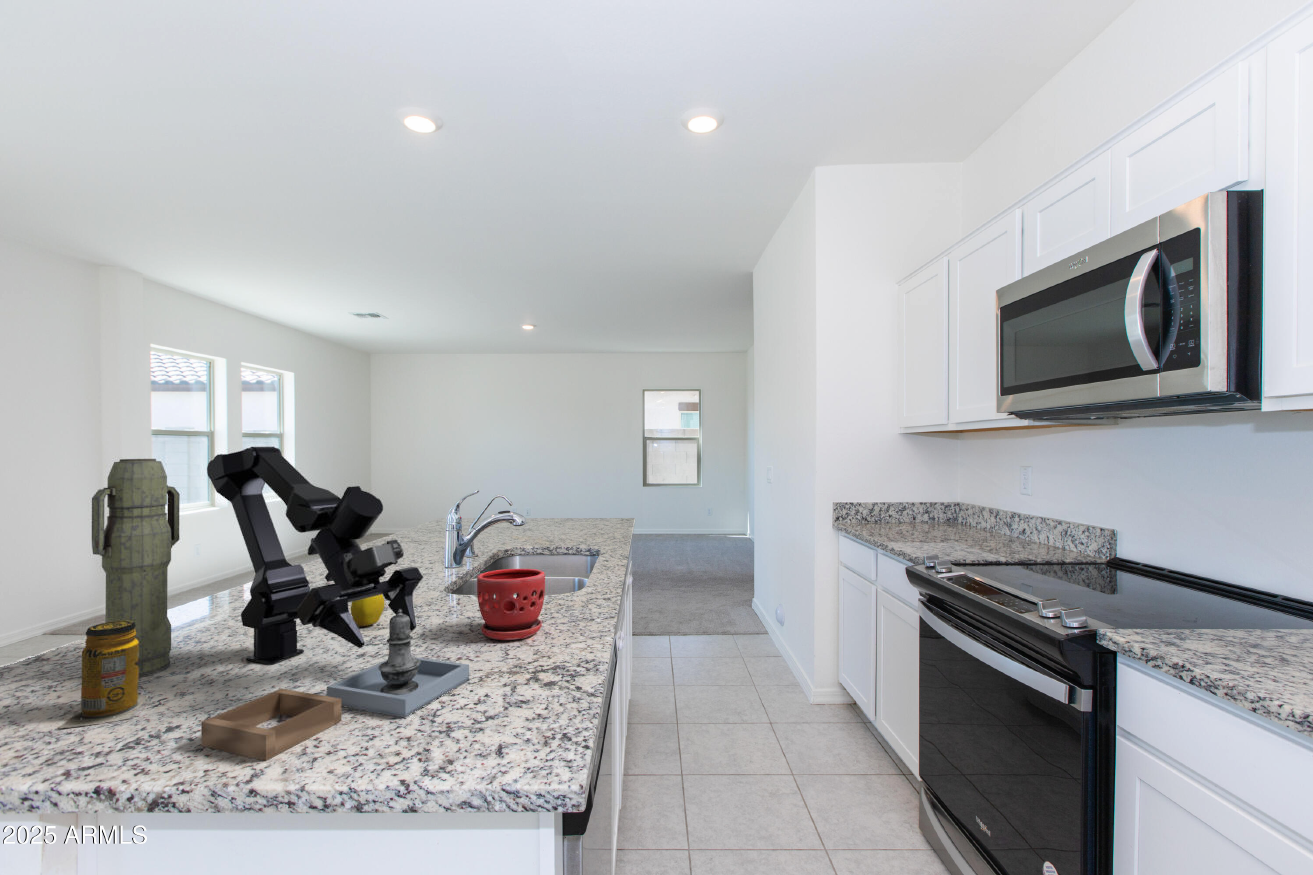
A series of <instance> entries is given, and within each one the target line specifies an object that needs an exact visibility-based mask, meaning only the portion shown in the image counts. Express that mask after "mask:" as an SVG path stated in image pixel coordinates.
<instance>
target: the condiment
mask: <svg viewBox="0 0 1313 875" xmlns="http://www.w3.org/2000/svg"><path fill="white" fill-rule="evenodd" d="M135 627H136V625H135V622H133V621H128V620H126V621H125V620H122V621H112V622H106V623H105V622H103V623H102V622H101V623H99V624H94V625H92V626H90V627H88V628H87V629H86V631H85V635H86V639H85V642H84V643H85V646H84V648H83V649H82V650H81V684H80V685H81V686H80V687H81V688H80V691H81V692H80V693H81V696H80V709H79V710H77V712H76V713H74V715H72V716H70V717H68V719H66V721H65V722H64V723H63V724H61V726H60V727H59V729H64V728H66V729H67V728H68V729H69V728H70V729H71V728H76V727H84V726H92V725H96V724H97V725H98V724H99V725H103V724H105V723H109V722H118V721H122V720H129V719H131V718H132V716H133V715H134V714H135V712H136V711H137V710H138V709H140V707H141V706H142V705H143V704H144V703H145V701H146V700H147V699H148V698H149V696H150V695H141V696H139V678H140V677H139V675H138V674H139V673H138V672H139V670H138V667H139V664H138V663H139V662H138V661H139V660H138V659H139V658H138V657H139V642H138V640H137V639H136V638H135V636H136V631H135Z"/></svg>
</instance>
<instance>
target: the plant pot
mask: <svg viewBox="0 0 1313 875" xmlns="http://www.w3.org/2000/svg"><path fill="white" fill-rule="evenodd" d="M545 573H546V572H544V571H543V570H540V569H534V568H507V569H498V570H497V569H496V570H491V571H487V572H483V573H480V574H478V575H477V577H476V595H477V604H478V608H479V613H480V615H481V618H482V620H483V621H484V623H483V624H482V626H481V628H480V629H481V632H482V634H484V635H485V636H486V637H487V638H490V639H493V640H499V641H512V640H515V641H516V640H524V639H526V638H529V637H530V636H533V635H535V634H537V633H538V632H539V631H540V630H541V628H542V626H543V622H542V620H541V619H539V617H540V614H541V613H542V609H543V607H544V602H545V601H544V600H545V595H546V594H545V592H546V575H545ZM515 594H516V597H514V595H515Z"/></svg>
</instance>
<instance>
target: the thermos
mask: <svg viewBox="0 0 1313 875" xmlns="http://www.w3.org/2000/svg"><path fill="white" fill-rule="evenodd" d="M180 495H181V494H180V492H179V491H178V490H177V489H176V488H175V487H174V486H169V485H168V474H167V472H166V470H165V468H164V466H163V462H162V461H160V460H157V459H156V458H124V459H123V458H119V461H114V462H113V465H112V466H111V469H110V471H109V472H108V476H107V486H106V487H103V488H102V489H101V488H99V489H98V490H97V491H96V493H95V494H94V495H93V496H92V497H91V549H92V555H95V556H97V555H99V557H101V568H102V570H103V571H104V573H105V619H104V620H105V621H104V623H106V622H112V621H122V620H125V621H126V620H128V621H133V622H135V625H136V627H135V631H136V636H135V638H136V639H137V640H138V642H139V657H138V658H139V659H138V660H139V661H138V662H139V663H138V664H139V667H138V670H139V672H138V673H139V674H138V675H139V677H138V678H144V677H146V676H150V675H153V674H157V673H160V672H162V671H164V670H166V669H168V668H169V667H170V665H171V660H170V654H171V651H172V623H171V622H170V620H169V617H168V568H169V565H170V563H171V561H172V549H173V546H175V545H176V544H177V543H178V541H180ZM106 496H107V498H106ZM105 498H106V499H107V504H106V505H107V508H108V515H107V517H106V519H107V520H106V521H107V522H106V525H105ZM166 505H167V512H166Z"/></svg>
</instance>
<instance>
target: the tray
mask: <svg viewBox="0 0 1313 875" xmlns="http://www.w3.org/2000/svg"><path fill="white" fill-rule="evenodd" d="M412 658H416V659H419V660H420V662H421V663H420V665H419V666H418V671H417V674H416V676H415V677H414V678H413V679H412V680H413V681H415V682H417V683H418V685H419V686H418V688H417V689H416V690H414V691H412V692H409V693H406V694H402V695H392V694H386V693H381V689H382V687H384V686H385V685H386V684H388V683H387V682H386V681H385V680H383V678H382V676H381V671H380V670H379V666H380V665H381V664H382V663H384V662H386V661H387V660H388V658H387V659H386V660H383V661H380V662H379V663H376V664H374V665H372V666H370V667H368V668H365V669H362V670H360V671H358V672H357V673H354V674H352V675H349V676H348V677H345V678H343V679H339V680H338V681H336V682H333V683H331V684H329V685H327V686H326V696H328V697H334V698H340V699H341V706H346V707H349V708H348V709H352V708H354V709H353V710H359V711H363V710H365V711H364V712H369V713H376V714H380V713H382V714H381V715H385V714H386V716H392V717H398V718H402V717H407V716H408V717H410V716H411V715H410V714H411V713H413V714H415V713H416V712H415V711H417V710H418V711H420V710H421V709H420V708H422V707H423V706H425V705H427V704H429V703H430V702H432V701H433V700H435V699H437V698H439V697H440V696H442V695H444V694H445V695H447V694H448V693H447V692H449V691H450V692H452V691H453V690H452V689H454V690H455V688H456V687H457V688H459V687H461V686H462V685H464V684H466V683H467V682H469V681H470V664H469V663H468V664H467V663H461V662H452V661H445V660H438V659H433V658H423V657H417V656H412ZM465 682H466V683H465ZM463 683H464V684H463ZM460 685H461V686H460ZM458 686H459V687H458ZM457 688H456V689H457ZM451 690H452V691H451ZM450 692H449V693H450ZM446 693H447V694H446ZM445 695H444V696H445ZM442 697H443V696H442ZM440 698H441V697H440ZM440 698H439V699H440ZM437 700H438V699H437ZM435 701H436V700H435ZM432 703H433V702H432ZM430 704H431V703H430ZM430 704H429V705H430ZM427 706H428V705H427ZM346 707H345V708H346ZM425 707H426V706H425ZM423 708H424V707H423ZM423 708H422V709H423ZM419 709H420V710H419ZM418 711H417V712H418ZM414 712H415V713H414ZM409 715H410V716H409ZM408 717H407V718H408Z"/></svg>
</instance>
